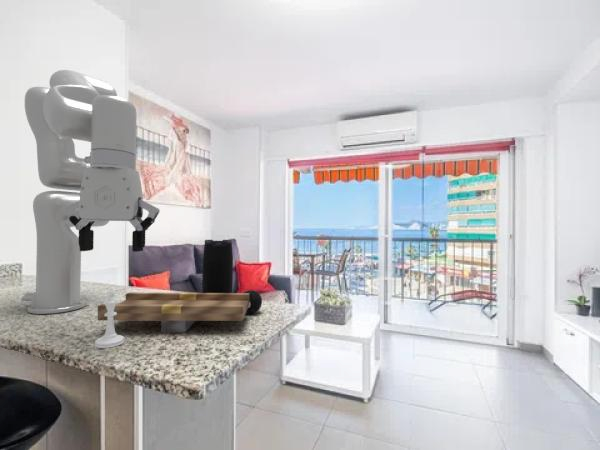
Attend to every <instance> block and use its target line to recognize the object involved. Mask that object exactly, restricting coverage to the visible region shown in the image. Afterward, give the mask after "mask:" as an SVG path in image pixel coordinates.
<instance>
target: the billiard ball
mask: <svg viewBox="0 0 600 450" xmlns="http://www.w3.org/2000/svg"><path fill="white" fill-rule="evenodd" d="M243 293H249V307H248V309H247V311H246V314H249V315H250V314H254V313H257V312H258V311H260V309H261V307H262V304H263V300H262V299H263V298H262V296H261V294H260V293H259V292H258V291H256V290H252V289H250V290H246V291H244V292H243Z"/></svg>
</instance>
